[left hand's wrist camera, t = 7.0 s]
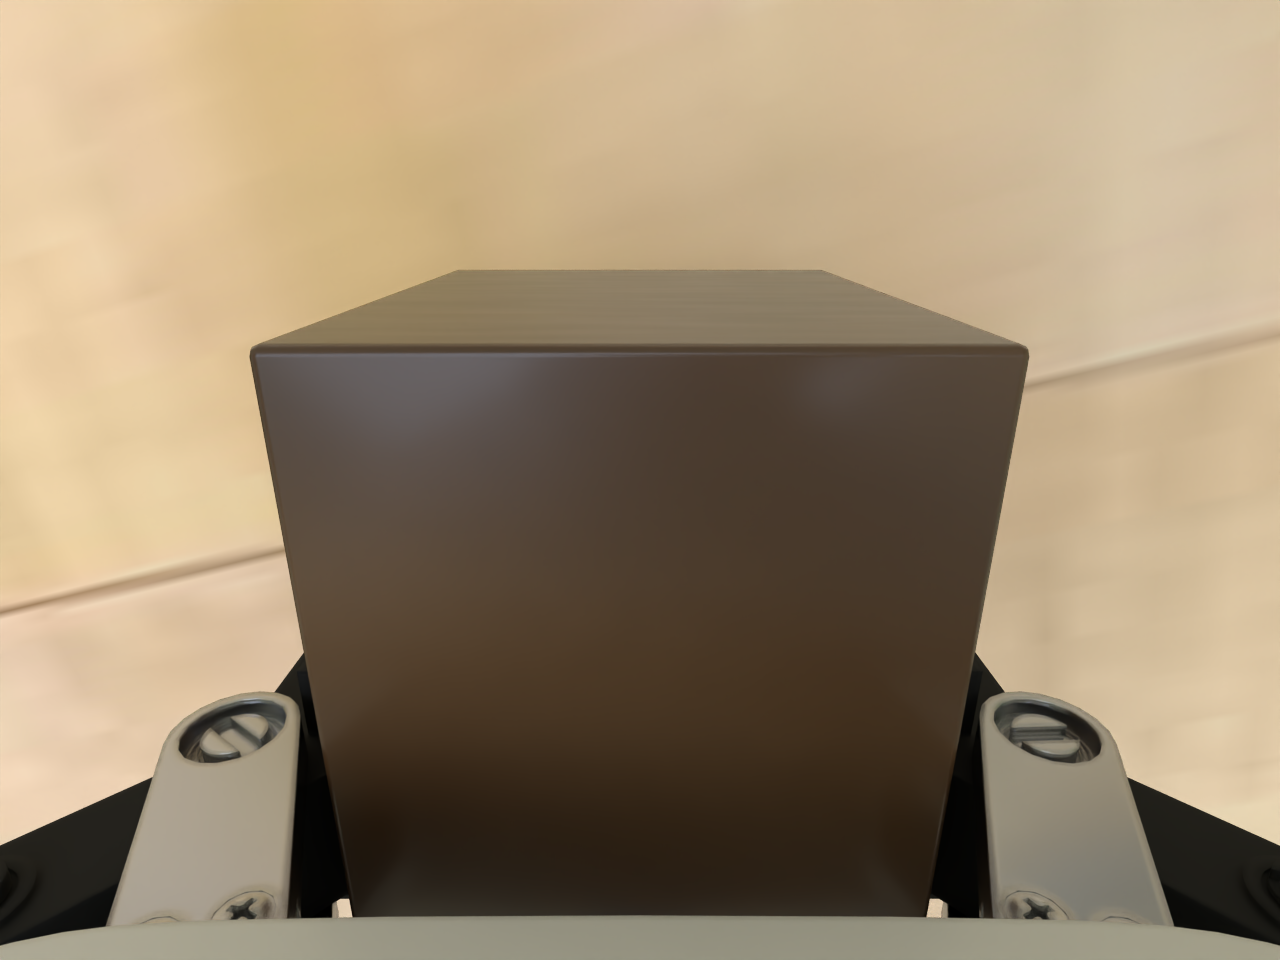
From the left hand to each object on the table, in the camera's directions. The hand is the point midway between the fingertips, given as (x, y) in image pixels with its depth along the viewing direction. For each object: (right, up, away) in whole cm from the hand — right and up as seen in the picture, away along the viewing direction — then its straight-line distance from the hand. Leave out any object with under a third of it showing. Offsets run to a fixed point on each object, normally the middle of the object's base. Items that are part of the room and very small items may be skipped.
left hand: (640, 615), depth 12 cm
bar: (0, -19, +9) cm, 21 cm away
